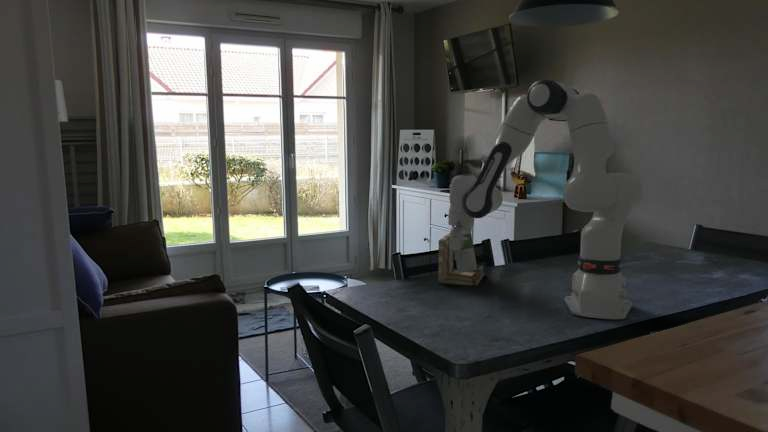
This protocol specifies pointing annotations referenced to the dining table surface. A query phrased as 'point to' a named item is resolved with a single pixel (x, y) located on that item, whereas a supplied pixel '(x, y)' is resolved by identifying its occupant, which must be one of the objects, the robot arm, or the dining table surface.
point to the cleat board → (446, 267)
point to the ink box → (467, 256)
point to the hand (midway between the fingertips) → (459, 258)
